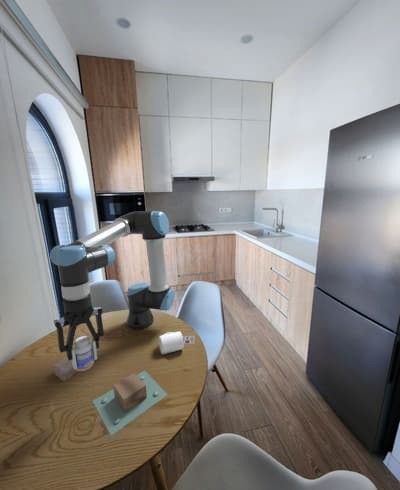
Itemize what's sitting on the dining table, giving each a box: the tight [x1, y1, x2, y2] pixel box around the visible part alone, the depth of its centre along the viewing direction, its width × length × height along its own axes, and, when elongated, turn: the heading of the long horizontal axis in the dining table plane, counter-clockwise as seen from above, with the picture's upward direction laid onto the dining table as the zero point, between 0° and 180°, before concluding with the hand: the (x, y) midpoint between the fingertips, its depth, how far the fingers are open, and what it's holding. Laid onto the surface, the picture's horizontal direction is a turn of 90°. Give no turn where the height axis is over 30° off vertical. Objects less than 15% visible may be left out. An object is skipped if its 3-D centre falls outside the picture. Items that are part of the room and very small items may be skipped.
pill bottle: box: [73, 335, 95, 372], centre depth 71 cm, size 5×5×10 cm
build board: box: [92, 370, 168, 437], centre depth 75 cm, size 20×16×2 cm
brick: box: [53, 347, 101, 381], centre depth 93 cm, size 17×8×5 cm, turn 151°
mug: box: [158, 331, 185, 355], centre depth 103 cm, size 12×10×8 cm
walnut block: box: [113, 372, 147, 413], centre depth 75 cm, size 8×8×5 cm
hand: (85, 361), depth 71 cm, fingers closed on pill bottle, 5 cm apart
